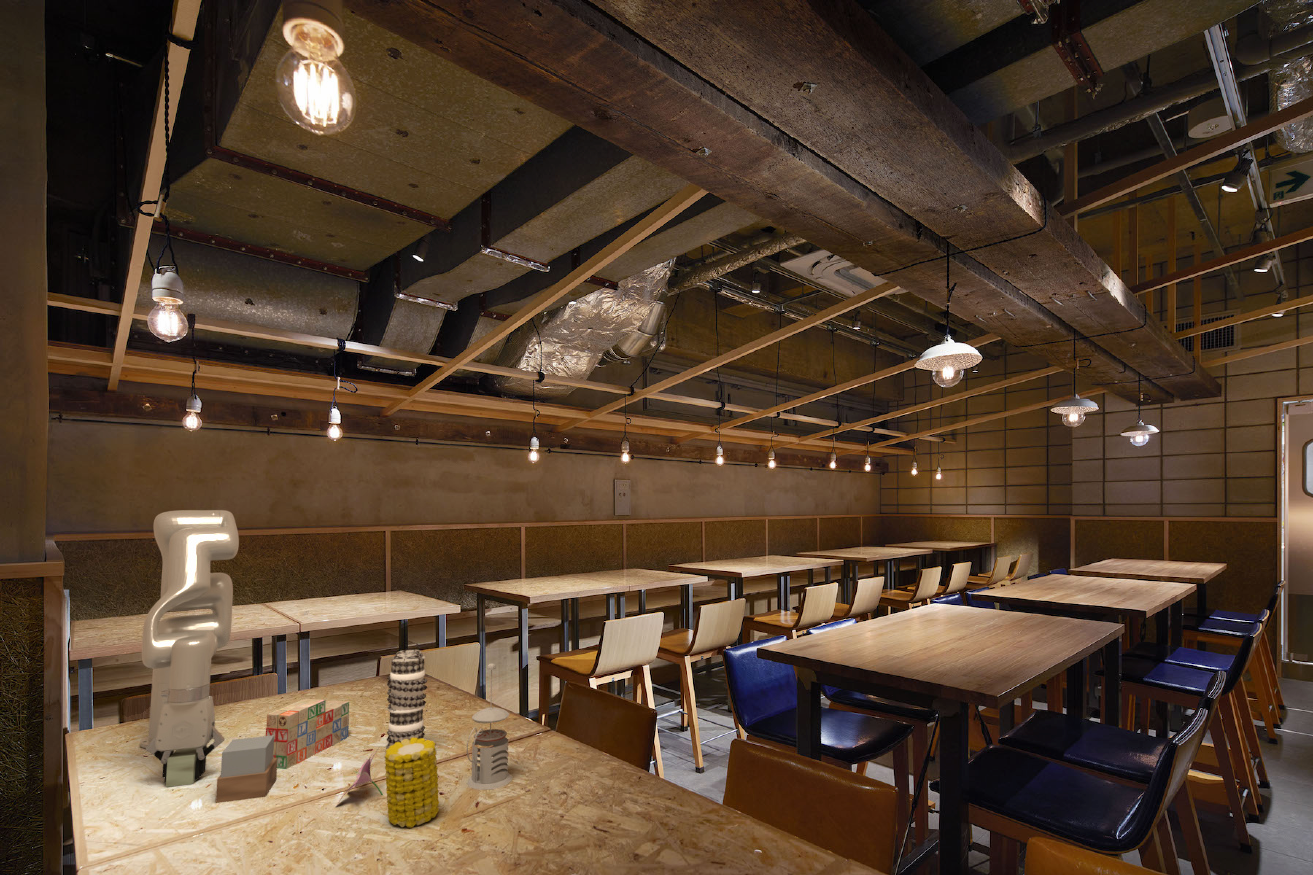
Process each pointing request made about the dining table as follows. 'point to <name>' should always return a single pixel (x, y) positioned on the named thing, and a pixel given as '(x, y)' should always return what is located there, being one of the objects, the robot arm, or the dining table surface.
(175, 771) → the sage block
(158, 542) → the robot arm
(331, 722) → the stack of blocks
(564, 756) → the dining table surface
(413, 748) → the food
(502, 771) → the french press
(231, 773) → the tower top
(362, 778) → the lily
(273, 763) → the tower base
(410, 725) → the decorative candle
